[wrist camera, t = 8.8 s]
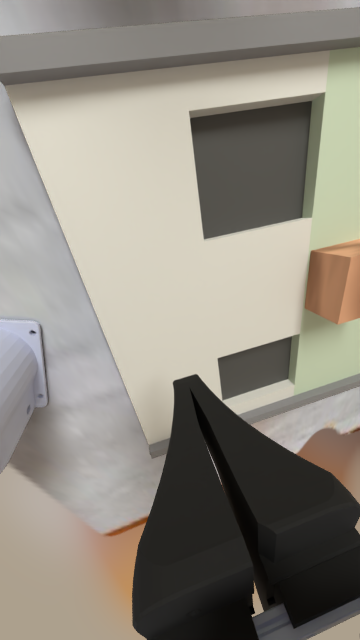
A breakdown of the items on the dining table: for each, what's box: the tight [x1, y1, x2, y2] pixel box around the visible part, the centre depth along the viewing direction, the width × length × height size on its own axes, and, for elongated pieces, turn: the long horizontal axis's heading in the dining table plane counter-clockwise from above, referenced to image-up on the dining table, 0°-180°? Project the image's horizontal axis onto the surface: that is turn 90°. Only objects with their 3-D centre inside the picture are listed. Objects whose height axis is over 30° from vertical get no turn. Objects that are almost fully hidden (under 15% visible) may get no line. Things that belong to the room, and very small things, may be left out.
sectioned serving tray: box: [0, 7, 360, 458], centre depth 21 cm, size 35×34×2 cm
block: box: [305, 239, 360, 325], centre depth 20 cm, size 6×6×4 cm
